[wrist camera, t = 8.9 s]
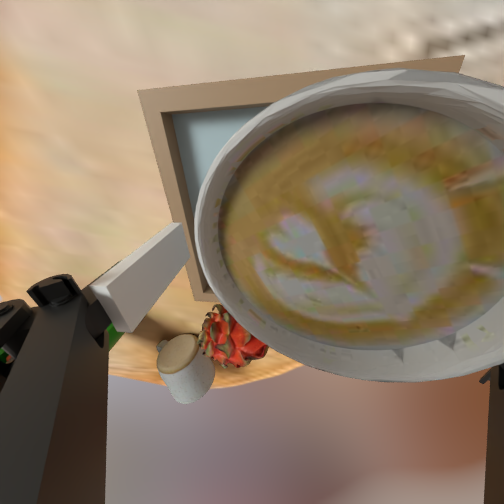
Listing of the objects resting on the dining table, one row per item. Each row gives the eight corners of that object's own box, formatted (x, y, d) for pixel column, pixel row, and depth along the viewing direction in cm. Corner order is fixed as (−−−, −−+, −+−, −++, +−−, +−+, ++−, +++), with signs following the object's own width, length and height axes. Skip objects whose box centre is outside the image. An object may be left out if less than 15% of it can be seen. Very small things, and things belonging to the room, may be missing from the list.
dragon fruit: (205, 305, 32) (275, 286, 30) (217, 359, 30) (291, 343, 29) (176, 316, 23) (271, 291, 22) (190, 391, 22) (293, 370, 20)
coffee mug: (256, 149, 14) (147, 172, 7) (433, 69, 9) (810, -208, 2) (300, 289, 19) (267, 395, 12) (431, 287, 14) (523, 472, 7)
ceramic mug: (205, 329, 32) (184, 377, 26) (221, 358, 36) (206, 406, 30) (153, 331, 35) (122, 375, 29) (172, 358, 39) (149, 402, 32)
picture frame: (177, 103, 17) (137, 90, 12) (405, 82, 14) (465, 54, 10) (210, 271, 26) (194, 300, 21) (353, 276, 23) (371, 311, 19)
